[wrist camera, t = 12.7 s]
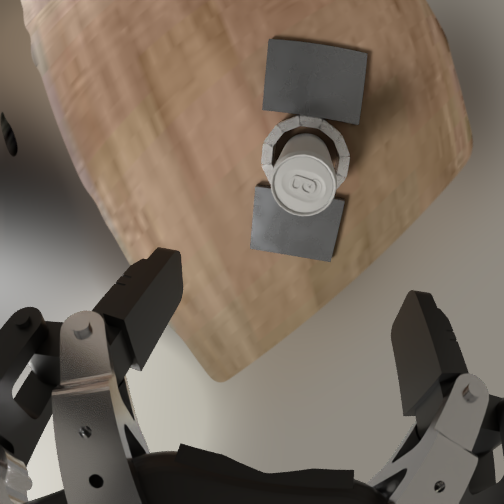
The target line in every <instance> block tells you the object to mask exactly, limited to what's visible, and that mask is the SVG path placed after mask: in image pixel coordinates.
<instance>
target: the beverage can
mask: <svg viewBox="0 0 504 504" xmlns="http://www.w3.org/2000/svg"><path fill="white" fill-rule="evenodd" d="M270 184H271V190H272V194H273V196H274V199H275V200H276V202H277V203H278V204H279V206H280V207H282V208H283V209H284V210H285V211H287V212H289V213H291V214H293V215H298V216H311V215H315V214H318V213H320V212H321V211H323V210H325V209H326V208H327V207H328V206H329V205H330V203H331V202H332V200H333V198H334V196H335V193H336V189H337V176H336V173H335V170H334V167H333V164H332V161H331V158H330V155H329V152H328V149H327V146H326V144H325V143H324V141H323V140H322V139H321V138H319V137H318V136H316V135H314V134H308V133H305V134H299V135H295V136H293V137H292V138H290V139H289V140H288V142H287V143H286V145H285V147H284V148H283V150H282V152H281V154H280V156H279V158H278V160H277V162H276V164H275V166H274V168H273V170H272V172H271V179H270Z"/></svg>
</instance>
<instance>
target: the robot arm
mask: <svg viewBox="0 0 504 504" xmlns="http://www.w3.org/2000/svg"><path fill="white" fill-rule="evenodd" d="M182 294H183V278H182V264H181V254H180V252H179V251H177V250H171V249H166V248H160V247H158V248H157V249H156V250H155V251H154V252H153V253H152V254H151V255H150V256H149V258H148V259H141V260H140V261H138V262H136V263H134V264H133V265H131V266H130V267H129V268H128V269H127V271H125V273H124V274H123V276H121V277H120V278H119V279H118V280H117V282H116V284H114V285H113V286H112V287H111V289H110V290H109V291H108V292H107V293H106V294H105V296H104V297H103V298H102V299H101V300H100V301H99V303H98V304H97V305H96V306H95V307H94V309H93V310H92V311H80V312H77V313H75V314H73V315H71V316H70V317H68V318H67V319H66V320H65V321H64V322H50V321H44V318H43V316H42V314H41V312H40V311H39V310H38V309H37V308H34V307H26V308H22V309H20V310H18V311H17V312H15V313H14V314H13V315H12V316H11V317H10V318H9V320H8V321H7V322H6V323H5V324H4V326H3V327H2V328H1V329H0V504H504V476H503V478H502V479H501V480H500V481H499V482H498V483H496V480H495V468H494V458H493V449H495V448H496V447H497V446H499V445H500V444H502V448H503V455H504V398H500V397H497V396H493V395H490V394H489V393H488V390H487V387H486V386H485V384H484V382H483V381H482V380H481V379H480V378H478V377H477V376H475V375H473V374H469V373H468V370H467V367H466V364H465V361H464V358H463V356H462V352H461V350H460V347H459V344H458V342H456V337H455V334H454V332H453V329H452V327H451V324H450V322H449V320H448V318H447V317H446V316H445V314H444V313H443V312H442V311H441V310H440V309H439V308H437V306H436V303H435V301H434V299H433V297H432V295H431V294H430V293H427V292H420V291H413V290H411V291H410V292H409V293H408V294H407V296H406V298H405V300H404V302H403V304H402V307H401V309H400V311H399V313H398V315H397V317H396V319H395V321H394V323H393V326H392V330H391V341H392V346H393V351H394V356H395V362H396V367H397V373H398V379H399V386H400V393H401V400H402V408H403V416H416V422H415V423H414V424H413V426H412V427H411V428H410V430H409V431H408V433H407V434H406V436H405V437H404V439H403V441H402V442H401V444H400V445H399V447H398V448H397V449H396V451H395V452H394V454H393V455H392V457H391V458H390V459H389V461H388V462H387V463H386V465H385V466H384V467H383V468H382V469H381V470H380V471H379V472H378V473H377V474H376V475H375V476H374V477H373V478H372V479H371V480H370V481H369V482H368V483H367V484H365V483H363V482H360V481H358V480H355V479H354V470H329V469H307V470H299V471H291V472H282V473H263V472H261V471H258V470H256V469H253V468H251V467H248V466H246V465H244V464H242V463H239V462H237V461H235V460H233V459H231V458H229V457H227V456H224V455H222V454H217V453H214V452H209V451H205V450H202V449H198V448H194V447H191V446H188V445H184V444H180V446H179V449H178V452H176V451H164V452H163V451H162V452H155V453H150V452H149V449H148V446H147V443H146V441H145V439H144V436H143V434H142V432H141V430H140V427H139V424H138V421H137V417H136V414H135V410H134V407H133V403H132V399H131V395H130V391H129V387H128V383H127V378H126V376H125V375H126V373H127V371H128V370H129V368H133V369H135V370H138V371H142V369H143V367H144V365H145V364H146V362H147V360H148V358H149V356H150V354H151V353H152V351H153V349H154V347H155V345H156V344H157V342H158V340H159V338H160V337H161V335H162V333H163V331H164V330H165V328H166V326H167V324H168V323H169V321H170V319H171V317H172V316H173V314H174V312H175V310H176V309H177V307H178V305H179V303H180V301H181V298H182ZM27 364H28V365H29V367H30V368H31V369H32V371H31V372H30V374H29V375H28V377H27V378H26V380H25V381H24V383H23V385H22V386H21V388H20V390H19V391H18V393H17V395H16V397H15V398H14V399H13V397H12V388H13V386H14V384H15V382H16V381H17V379H18V378H19V376H20V374H21V373H22V371H23V370H24V368H25V367H26V365H27ZM52 413H53V423H54V432H55V440H56V448H57V455H58V460H59V466H60V472H61V477H62V481H63V486H64V489H63V490H61V491H58V492H55V493H53V494H50V495H47V496H44V497H41V498H38V499H35V500H32V501H28V498H27V490H30V489H31V487H32V481H31V478H30V477H29V476H28V471H27V469H26V467H27V464H28V462H29V460H30V458H31V456H32V453H33V451H34V449H35V447H36V445H37V443H38V441H39V439H40V437H41V435H42V433H43V431H44V429H45V427H46V425H47V423H48V421H49V419H50V417H51V415H52Z"/></svg>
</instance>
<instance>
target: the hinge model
mask: <svg viewBox="0 0 504 504" xmlns="http://www.w3.org/2000/svg"><path fill="white" fill-rule="evenodd" d="M366 64H367V53H363V52H359V51H354V50H349V49H344V48H339V47H334V46H328V45H321V44H315V43H307V42H299V41H289V40H278V39H269V41H268V52H267V63H266V74H265V85H264V97H263V108H262V110H267V111H277V112H285V113H293V114H300V115H296V116H294V117H291V118H288V119H286V120H283V121H281V122H280V123H278V124H277V125H276V126H275V127H274V129H273V130H272V131H271V133H270V134H269V135H268V137H267V138H266V139H265V141H264V143H263V149H262V160H261V164H262V168H263V170H264V172H265V174H266V176H267V178H268V181H269V183H270V179H271V172H272V170H273V168H274V166H275V164H276V162H277V161H276V159H275V150H276V142H277V140H278V139H279V138H280V137H281V135H282V134H283V133H284V132H286V131H289V130H291V129H294V128H296V127H299V126H304V127H311V128H317V129H320V130H321V131H322V132H324V133H325V134H326V135H327V136H329V137H330V138H331V139H332V140H333V142H334V144H335V147H336V149H337V156H336V162H335V167H334V170H335V173H336V176H337V188H338V187H339V186H340V185H341V184H342V183H343V181H344V180H345V177H347V172H348V167H349V161H350V154H349V151H348V149H347V146H346V143H345V141H344V138H343V136H342V134H341V133H340V132H339V131H338V130H337V129H336V128H335V127H333V126H332V125H331V124H330V123H328V122H327V121H326V120H324V119H323V118H325V119H331V120H337V121H342V122H347V123H352V124H356V125H359V120H360V113H361V106H362V98H363V91H364V82H365V73H366ZM344 202H345V200H344V198H338V197H334V198H333V200H332V202H331V203H330V205H329V206H328V207H327V208H326V209H325V210H323V211H321V212H320V213H318V214H315V215H311V216H298V215H293V214H291V213H289V212H287V211H285V210H284V209H283V208H282V207H280V206H279V204H278V203H277V202H276V200H275V199H274V196H273V194H272V190H271V186H264V185H256V187H255V198H254V209H253V221H252V232H251V244H250V249H256V250H262V251H268V252H274V253H280V254H286V255H292V256H298V257H304V258H310V259H316V260H322V261H328V262H331V258H332V254H333V250H334V246H335V242H336V238H337V233H338V229H339V225H340V220H341V216H342V212H343V207H344Z"/></svg>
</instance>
